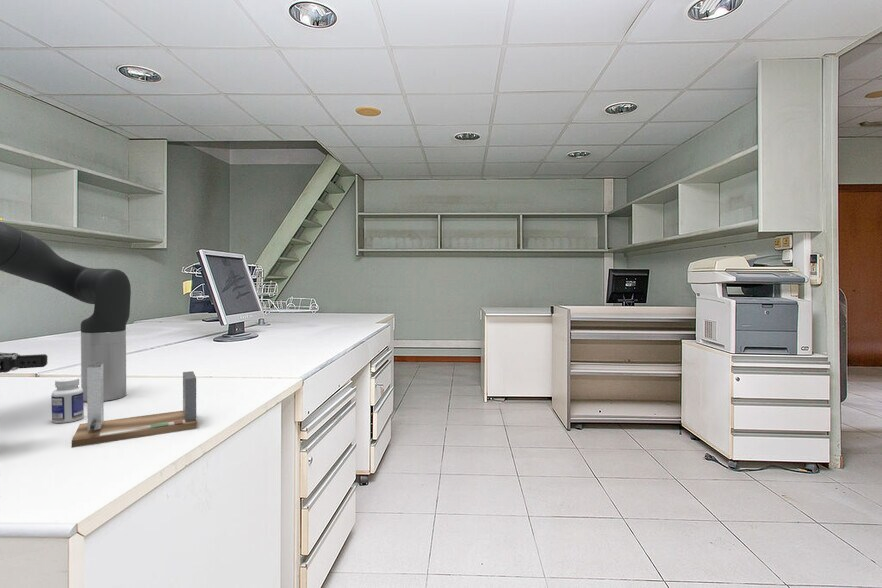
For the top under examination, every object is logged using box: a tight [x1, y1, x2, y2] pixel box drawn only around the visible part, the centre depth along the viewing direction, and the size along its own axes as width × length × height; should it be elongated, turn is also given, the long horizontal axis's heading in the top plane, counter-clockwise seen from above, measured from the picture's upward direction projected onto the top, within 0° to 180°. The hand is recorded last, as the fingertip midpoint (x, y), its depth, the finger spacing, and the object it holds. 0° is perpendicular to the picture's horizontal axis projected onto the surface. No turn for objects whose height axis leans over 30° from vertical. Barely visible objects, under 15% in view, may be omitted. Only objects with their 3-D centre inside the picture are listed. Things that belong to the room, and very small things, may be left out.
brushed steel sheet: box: [86, 362, 105, 431], centre depth 85 cm, size 9×2×12 cm, turn 34°
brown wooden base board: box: [71, 410, 198, 448], centre depth 90 cm, size 11×20×2 cm, turn 124°
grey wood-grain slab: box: [182, 371, 197, 422], centre depth 95 cm, size 8×2×9 cm, turn 34°
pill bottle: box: [50, 376, 85, 424], centre depth 95 cm, size 5×5×9 cm
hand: (46, 360), depth 82 cm, fingers closed
